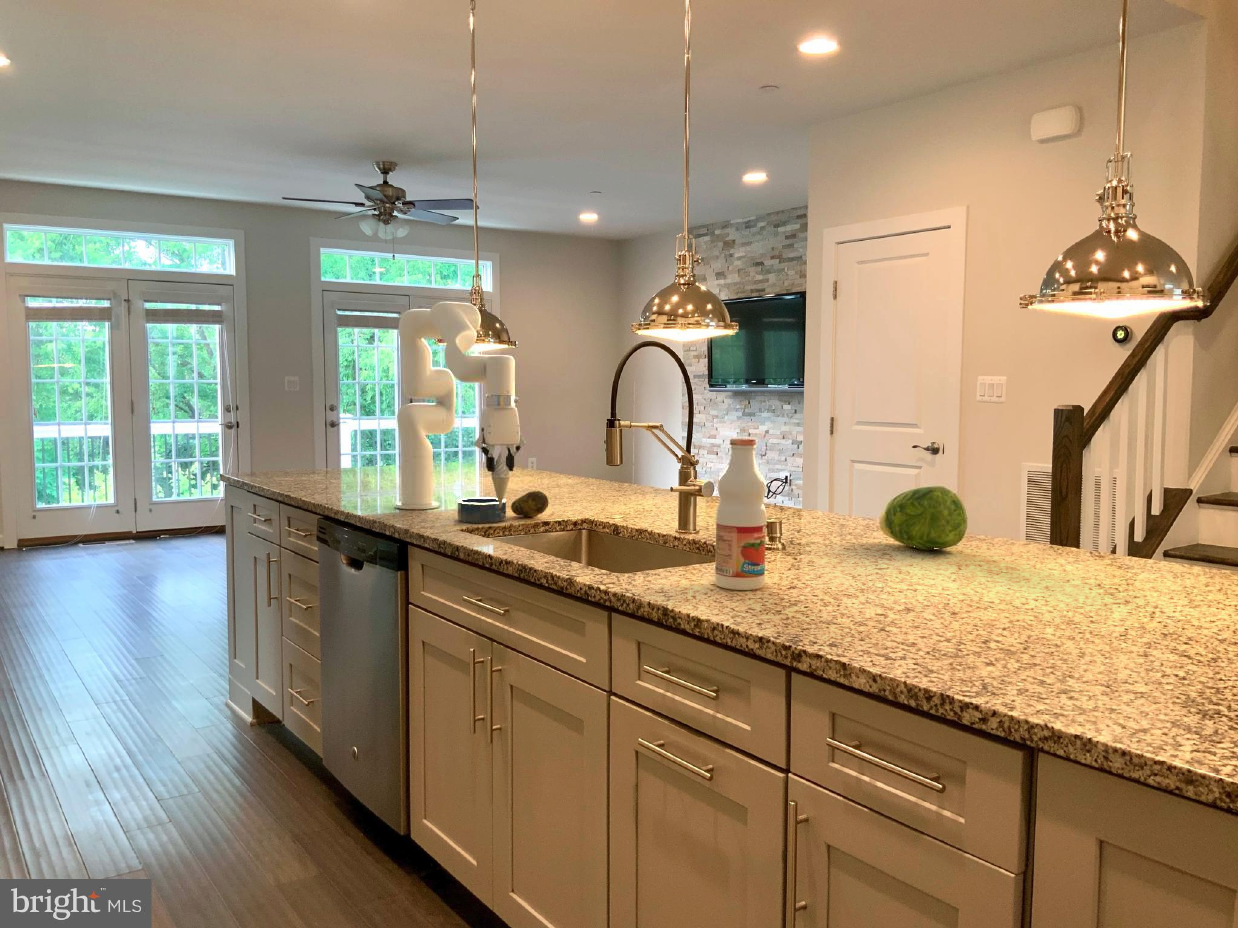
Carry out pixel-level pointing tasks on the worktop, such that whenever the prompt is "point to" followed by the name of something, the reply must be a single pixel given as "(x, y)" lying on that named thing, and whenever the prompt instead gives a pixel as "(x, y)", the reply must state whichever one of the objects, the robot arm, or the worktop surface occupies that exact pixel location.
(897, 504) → the lettuce
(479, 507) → the bowl
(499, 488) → the ice cream cone
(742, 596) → the worktop surface
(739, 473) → the fruit juice
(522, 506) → the potato
